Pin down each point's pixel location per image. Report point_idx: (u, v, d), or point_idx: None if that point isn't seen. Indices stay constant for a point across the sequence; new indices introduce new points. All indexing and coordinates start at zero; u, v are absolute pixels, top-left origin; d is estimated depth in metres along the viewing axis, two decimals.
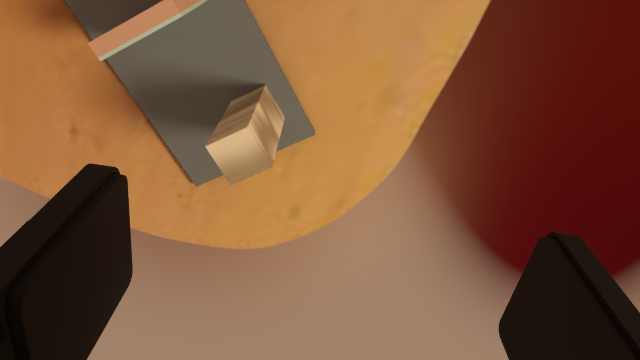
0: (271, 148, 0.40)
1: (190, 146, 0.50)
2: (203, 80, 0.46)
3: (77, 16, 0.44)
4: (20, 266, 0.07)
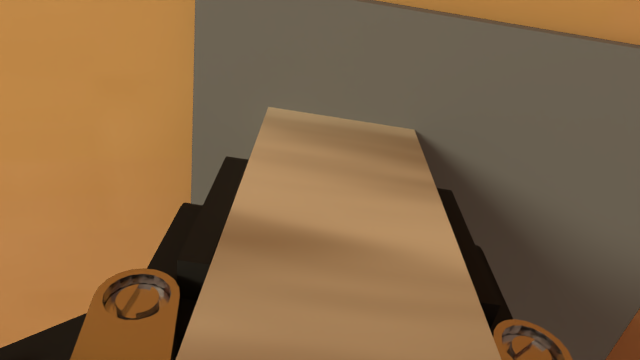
0: None
1: (624, 211, 0.14)
2: None
3: None
4: (214, 241, 0.08)
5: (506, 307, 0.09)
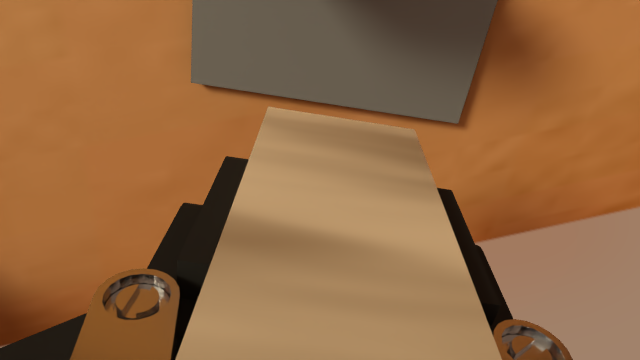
0: None
1: None
2: None
3: (487, 21, 0.23)
4: (214, 241, 0.08)
5: (506, 307, 0.09)
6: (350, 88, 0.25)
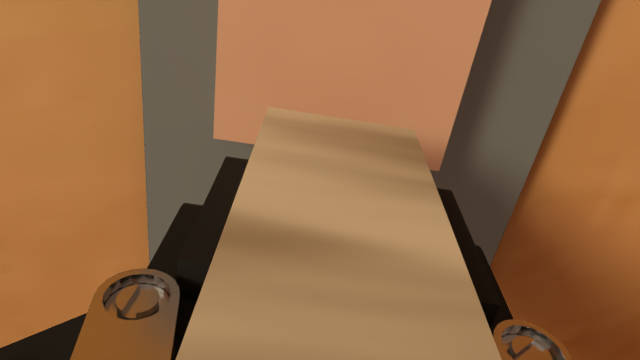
0: None
1: None
2: None
3: (491, 253, 0.20)
4: (214, 241, 0.08)
5: (506, 307, 0.09)
6: None
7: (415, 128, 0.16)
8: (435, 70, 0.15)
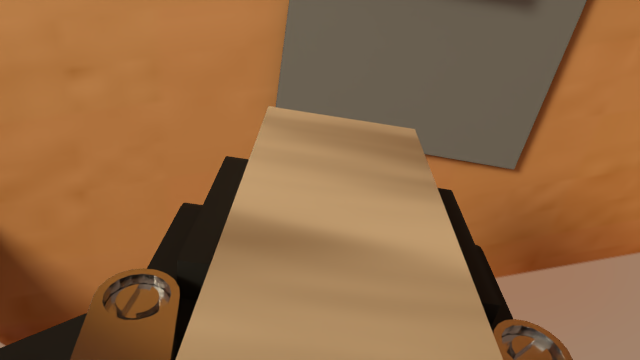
0: None
1: None
2: None
3: (549, 81, 0.26)
4: (214, 241, 0.08)
5: (506, 307, 0.09)
6: None
7: None
8: None
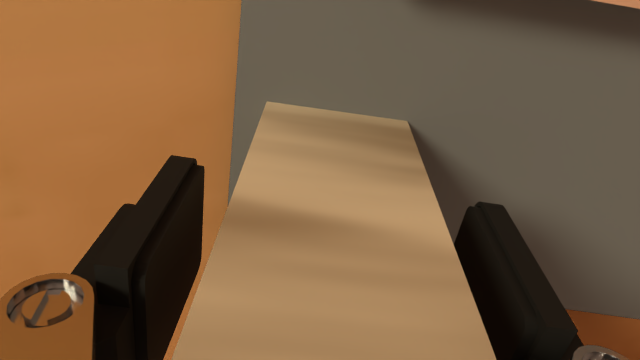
0: None
1: None
2: None
3: None
4: (139, 244, 0.07)
5: None
6: None
7: None
8: None
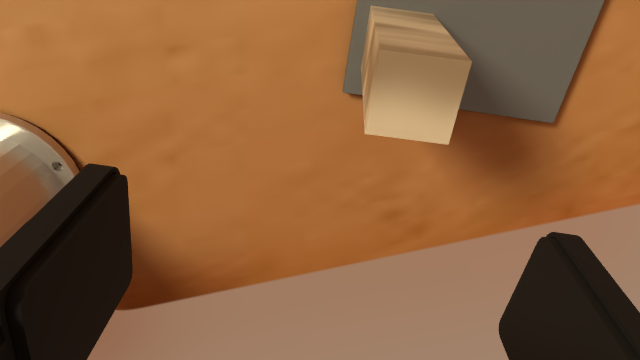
0: (374, 51, 0.22)
1: None
2: None
3: (584, 42, 0.30)
4: (20, 266, 0.07)
5: None
6: (468, 95, 0.32)
7: None
8: None
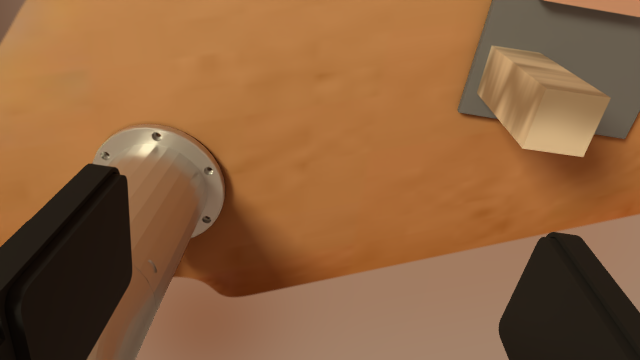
0: (527, 86, 0.30)
1: None
2: None
3: None
4: (20, 266, 0.07)
5: None
6: None
7: None
8: None
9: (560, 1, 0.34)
